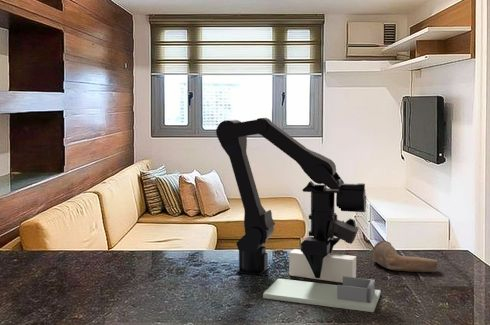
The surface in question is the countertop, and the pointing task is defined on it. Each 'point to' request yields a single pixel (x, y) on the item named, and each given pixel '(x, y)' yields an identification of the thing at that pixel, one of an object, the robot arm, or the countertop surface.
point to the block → (323, 266)
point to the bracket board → (327, 293)
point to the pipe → (401, 260)
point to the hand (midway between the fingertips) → (322, 272)
